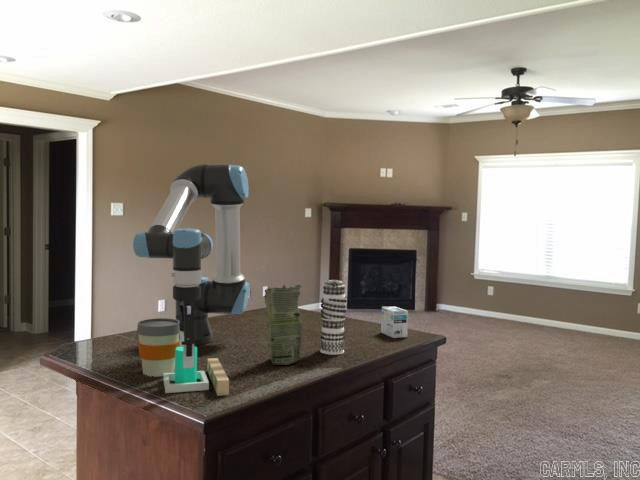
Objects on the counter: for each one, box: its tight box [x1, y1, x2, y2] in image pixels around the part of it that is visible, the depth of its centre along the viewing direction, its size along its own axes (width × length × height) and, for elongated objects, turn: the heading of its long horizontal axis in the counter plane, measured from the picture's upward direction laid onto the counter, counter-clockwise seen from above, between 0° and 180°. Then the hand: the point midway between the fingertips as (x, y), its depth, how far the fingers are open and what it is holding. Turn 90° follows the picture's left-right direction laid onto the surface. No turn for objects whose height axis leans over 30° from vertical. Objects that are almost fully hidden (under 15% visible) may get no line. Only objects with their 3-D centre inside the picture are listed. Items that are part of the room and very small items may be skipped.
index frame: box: [162, 370, 210, 394], centre depth 154 cm, size 11×11×2 cm
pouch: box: [264, 284, 303, 366], centre depth 180 cm, size 11×12×25 cm
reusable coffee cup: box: [136, 317, 180, 378], centre depth 165 cm, size 13×13×15 cm
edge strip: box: [206, 357, 230, 397], centre depth 157 cm, size 22×3×4 cm, turn 18°
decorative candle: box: [319, 279, 348, 356], centre depth 194 cm, size 9×9×25 cm
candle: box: [174, 345, 198, 384], centre depth 154 cm, size 6×6×12 cm
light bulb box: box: [380, 305, 409, 339], centre depth 223 cm, size 11×7×11 cm, turn 22°
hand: (186, 360), depth 154 cm, fingers open, 13 cm apart
